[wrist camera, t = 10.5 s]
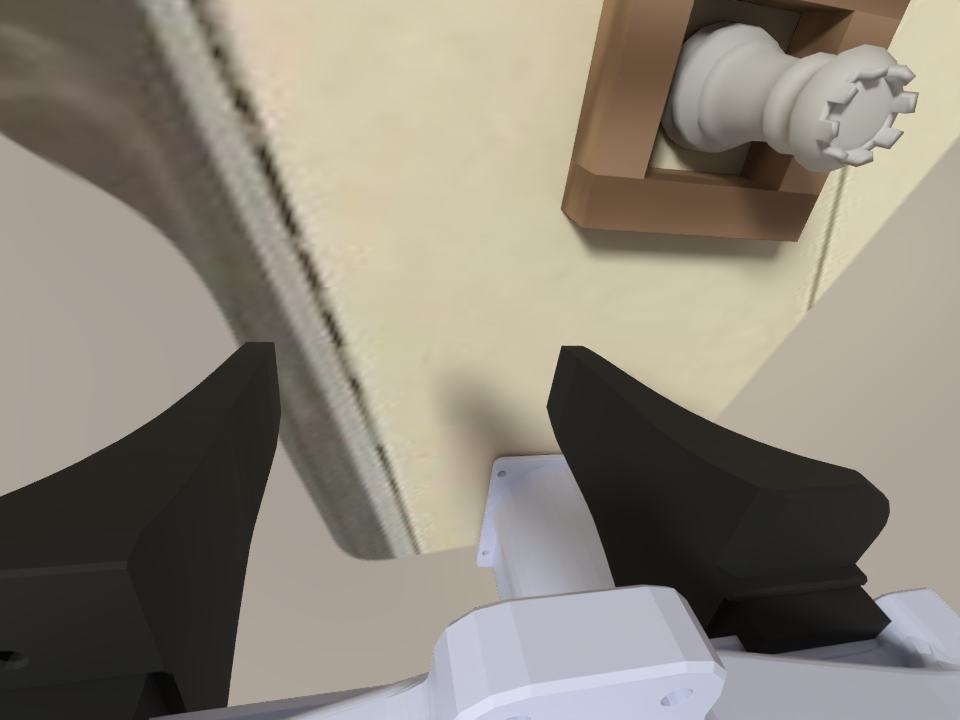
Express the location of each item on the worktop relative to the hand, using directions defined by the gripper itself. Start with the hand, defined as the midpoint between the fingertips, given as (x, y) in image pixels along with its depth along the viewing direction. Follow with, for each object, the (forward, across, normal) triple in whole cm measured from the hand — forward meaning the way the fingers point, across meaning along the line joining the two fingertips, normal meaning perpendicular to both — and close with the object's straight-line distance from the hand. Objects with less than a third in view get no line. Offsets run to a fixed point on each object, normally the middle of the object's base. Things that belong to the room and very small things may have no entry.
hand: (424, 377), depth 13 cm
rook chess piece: (+10, -12, -7) cm, 17 cm away
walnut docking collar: (+10, -12, -7) cm, 17 cm away
